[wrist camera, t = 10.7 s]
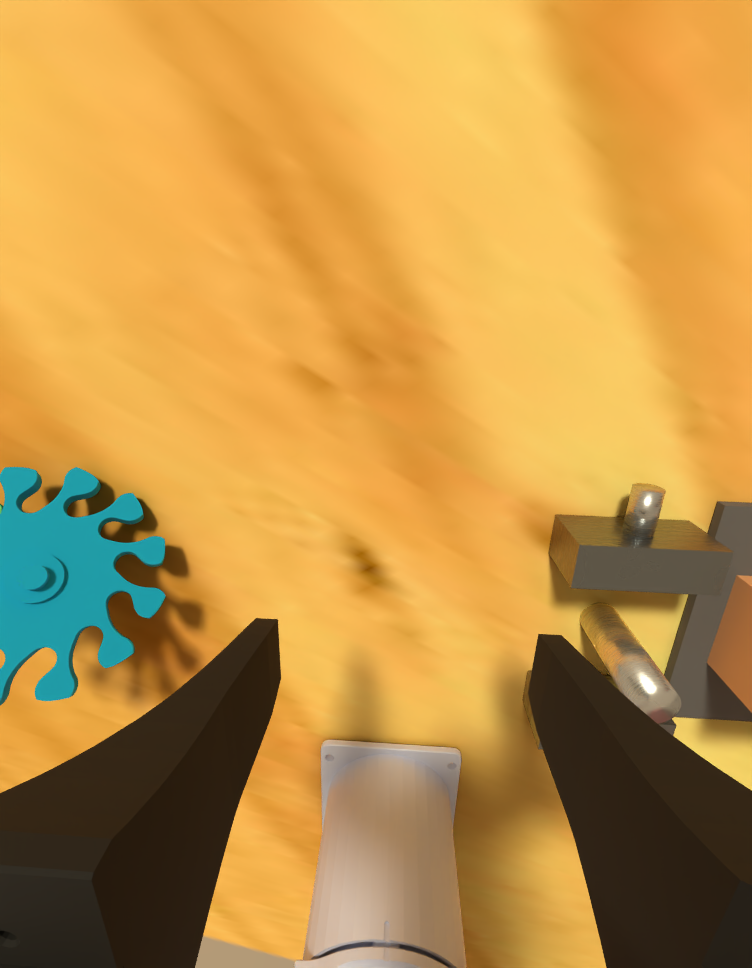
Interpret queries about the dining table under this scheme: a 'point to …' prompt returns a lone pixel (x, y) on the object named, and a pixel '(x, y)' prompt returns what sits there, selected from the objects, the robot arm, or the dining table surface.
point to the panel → (711, 627)
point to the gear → (64, 578)
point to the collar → (735, 642)
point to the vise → (634, 587)
